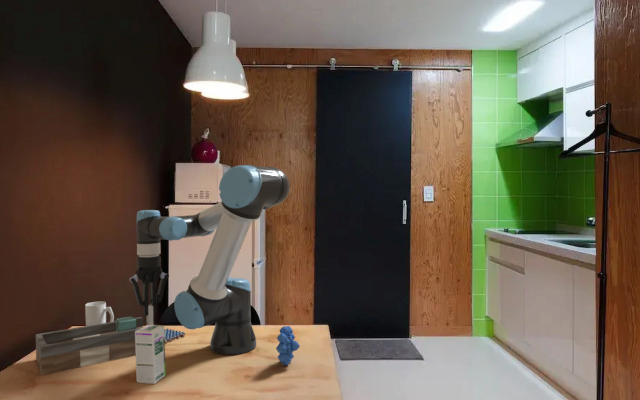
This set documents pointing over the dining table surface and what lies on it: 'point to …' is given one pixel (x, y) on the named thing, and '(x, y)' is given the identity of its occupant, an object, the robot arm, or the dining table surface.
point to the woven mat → (172, 335)
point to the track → (84, 346)
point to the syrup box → (150, 354)
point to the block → (125, 324)
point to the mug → (97, 313)
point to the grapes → (286, 345)
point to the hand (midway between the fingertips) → (150, 324)
